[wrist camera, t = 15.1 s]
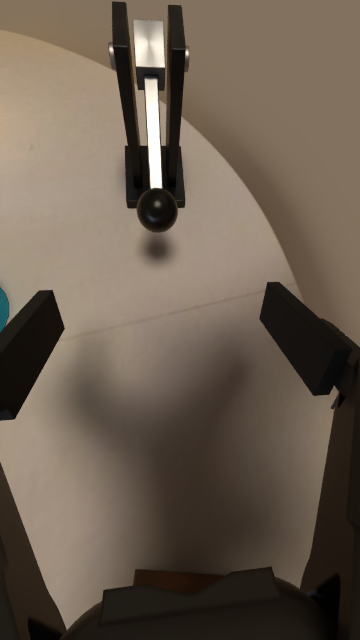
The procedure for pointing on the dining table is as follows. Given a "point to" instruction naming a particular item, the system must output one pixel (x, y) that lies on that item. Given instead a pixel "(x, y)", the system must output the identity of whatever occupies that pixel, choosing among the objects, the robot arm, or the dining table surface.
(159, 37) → the lever
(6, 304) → the mug
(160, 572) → the button block
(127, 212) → the dining table surface
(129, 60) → the bracket
